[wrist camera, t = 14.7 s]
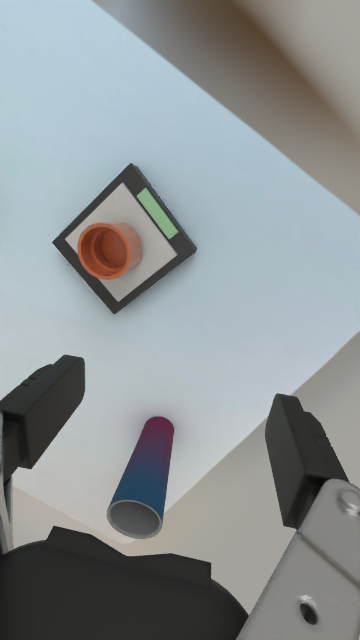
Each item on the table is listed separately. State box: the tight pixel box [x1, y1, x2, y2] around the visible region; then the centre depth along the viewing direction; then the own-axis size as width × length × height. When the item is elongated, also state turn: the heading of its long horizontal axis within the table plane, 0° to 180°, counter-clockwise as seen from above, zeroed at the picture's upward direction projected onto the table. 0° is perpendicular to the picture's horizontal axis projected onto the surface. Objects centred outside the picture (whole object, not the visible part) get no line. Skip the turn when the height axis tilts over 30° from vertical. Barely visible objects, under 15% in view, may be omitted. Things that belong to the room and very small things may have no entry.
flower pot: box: [77, 222, 142, 280], centre depth 30 cm, size 6×6×5 cm
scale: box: [52, 163, 197, 314], centre depth 34 cm, size 14×12×3 cm
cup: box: [107, 417, 174, 539], centre depth 39 cm, size 7×7×15 cm
